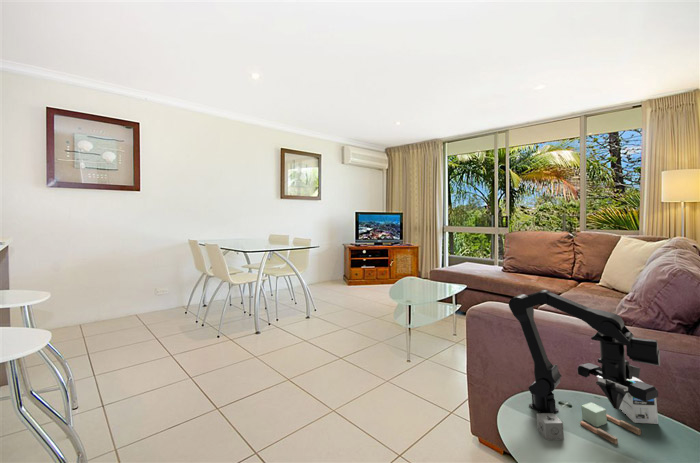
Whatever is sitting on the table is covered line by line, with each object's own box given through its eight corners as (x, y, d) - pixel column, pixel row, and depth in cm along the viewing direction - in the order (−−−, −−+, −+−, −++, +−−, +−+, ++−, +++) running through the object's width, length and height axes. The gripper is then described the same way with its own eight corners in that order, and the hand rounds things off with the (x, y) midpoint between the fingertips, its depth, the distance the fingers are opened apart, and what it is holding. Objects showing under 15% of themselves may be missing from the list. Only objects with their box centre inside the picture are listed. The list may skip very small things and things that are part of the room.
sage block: (582, 419, 103) (581, 405, 103) (592, 415, 104) (591, 402, 104) (596, 427, 99) (595, 412, 99) (607, 423, 100) (605, 409, 100)
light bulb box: (659, 424, 98) (657, 389, 98) (634, 423, 99) (631, 389, 99) (635, 405, 108) (633, 374, 108) (613, 404, 110) (611, 373, 110)
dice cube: (546, 439, 95) (545, 423, 95) (537, 429, 100) (536, 413, 100) (563, 439, 94) (562, 422, 94) (554, 429, 99) (553, 413, 99)
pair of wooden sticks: (580, 424, 100) (580, 420, 100) (604, 416, 104) (604, 411, 104) (615, 444, 91) (615, 439, 91) (640, 434, 94) (640, 429, 94)
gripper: (669, 362, 89) (673, 418, 89) (598, 342, 106) (602, 388, 106) (642, 371, 85) (646, 428, 85) (574, 348, 103) (577, 396, 103)
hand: (616, 408), depth 95 cm, fingers closed
